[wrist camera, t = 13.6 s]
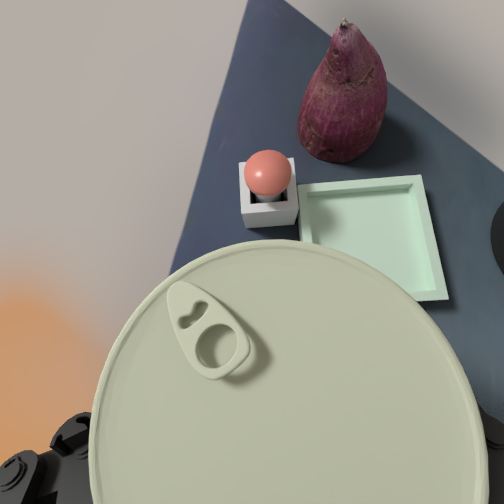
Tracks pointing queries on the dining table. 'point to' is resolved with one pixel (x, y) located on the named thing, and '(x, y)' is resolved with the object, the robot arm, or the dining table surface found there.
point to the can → (284, 390)
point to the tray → (377, 228)
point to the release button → (267, 175)
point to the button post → (269, 204)
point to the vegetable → (344, 99)
